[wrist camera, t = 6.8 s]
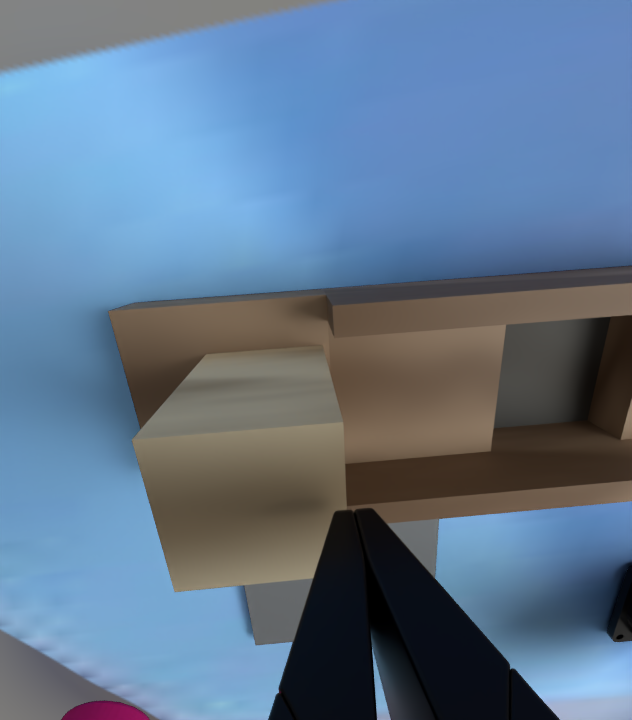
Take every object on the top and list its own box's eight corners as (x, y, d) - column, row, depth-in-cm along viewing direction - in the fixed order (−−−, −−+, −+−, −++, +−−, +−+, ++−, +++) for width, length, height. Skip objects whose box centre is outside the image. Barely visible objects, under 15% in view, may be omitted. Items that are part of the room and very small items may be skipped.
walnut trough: (636, 430, 17) (748, 490, 13) (175, 470, 17) (132, 546, 12) (684, 261, 14) (846, 266, 10) (134, 302, 14) (60, 326, 10)
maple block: (328, 444, 14) (349, 574, 8) (224, 453, 14) (174, 591, 8) (322, 345, 13) (343, 422, 7) (206, 354, 13) (131, 439, 7)
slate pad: (427, 617, 21) (431, 627, 20) (256, 634, 21) (255, 645, 20) (436, 475, 17) (441, 483, 17) (230, 494, 17) (227, 502, 17)
